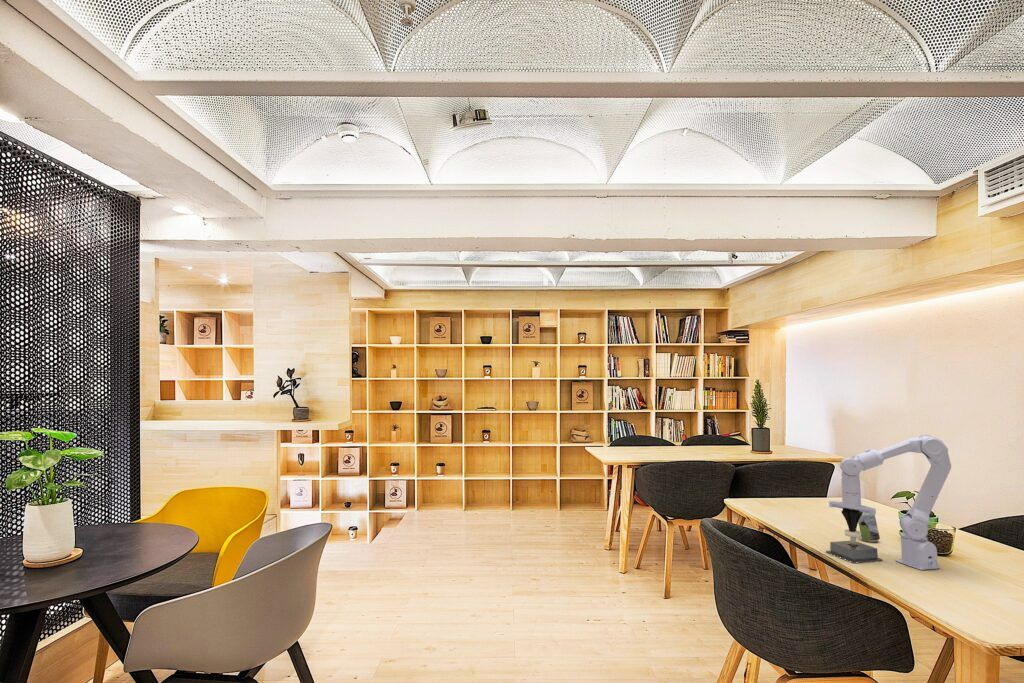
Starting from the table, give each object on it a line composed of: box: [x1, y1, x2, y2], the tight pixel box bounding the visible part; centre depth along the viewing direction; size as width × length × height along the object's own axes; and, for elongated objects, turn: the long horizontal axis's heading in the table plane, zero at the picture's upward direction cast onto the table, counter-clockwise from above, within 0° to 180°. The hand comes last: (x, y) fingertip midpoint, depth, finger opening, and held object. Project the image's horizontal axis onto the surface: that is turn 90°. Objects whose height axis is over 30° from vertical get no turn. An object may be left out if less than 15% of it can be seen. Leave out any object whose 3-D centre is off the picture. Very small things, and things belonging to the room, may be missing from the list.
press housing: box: [825, 540, 884, 564], centre depth 192 cm, size 12×12×4 cm
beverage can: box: [858, 513, 881, 543], centre depth 212 cm, size 6×7×12 cm
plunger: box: [844, 529, 862, 547], centre depth 192 cm, size 5×5×5 cm
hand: (852, 531), depth 193 cm, fingers closed
